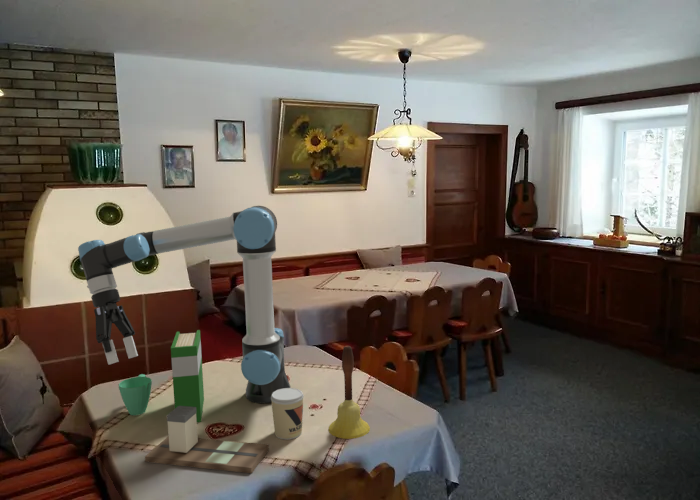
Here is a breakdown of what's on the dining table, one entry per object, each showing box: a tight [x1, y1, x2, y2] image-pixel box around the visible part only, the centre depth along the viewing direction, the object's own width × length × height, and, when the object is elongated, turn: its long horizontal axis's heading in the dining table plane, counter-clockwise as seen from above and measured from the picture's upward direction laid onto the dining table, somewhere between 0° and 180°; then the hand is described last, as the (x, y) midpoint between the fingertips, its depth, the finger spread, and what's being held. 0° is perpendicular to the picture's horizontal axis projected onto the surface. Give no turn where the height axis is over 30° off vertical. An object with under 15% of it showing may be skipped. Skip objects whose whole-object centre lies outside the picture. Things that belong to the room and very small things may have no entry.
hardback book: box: [170, 329, 205, 423], centre depth 172 cm, size 18×7×24 cm, turn 12°
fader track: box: [144, 435, 270, 474], centre depth 145 cm, size 30×12×2 cm, turn 77°
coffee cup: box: [271, 387, 305, 440], centre depth 156 cm, size 9×9×12 cm
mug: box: [118, 373, 153, 416], centre depth 175 cm, size 15×10×10 cm
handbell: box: [327, 345, 371, 440], centre depth 158 cm, size 12×12×25 cm
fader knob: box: [166, 406, 199, 453], centre depth 146 cm, size 5×6×10 cm
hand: (123, 360), depth 161 cm, fingers open, 13 cm apart
